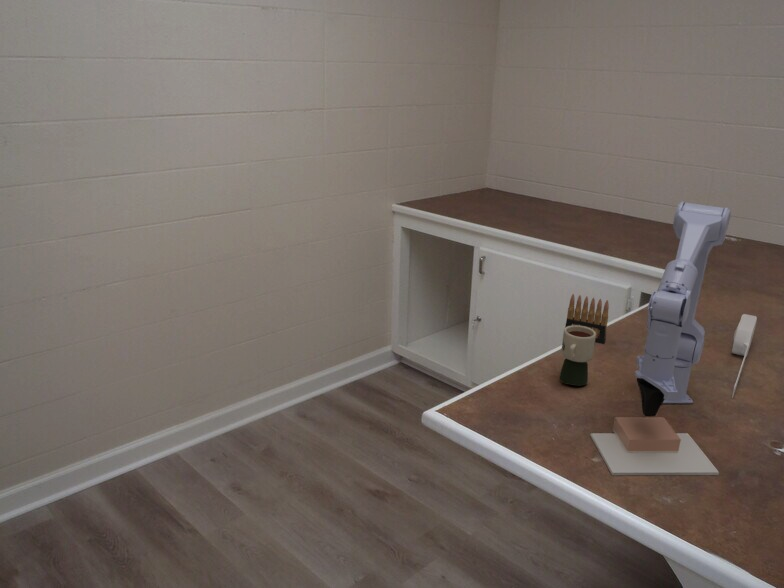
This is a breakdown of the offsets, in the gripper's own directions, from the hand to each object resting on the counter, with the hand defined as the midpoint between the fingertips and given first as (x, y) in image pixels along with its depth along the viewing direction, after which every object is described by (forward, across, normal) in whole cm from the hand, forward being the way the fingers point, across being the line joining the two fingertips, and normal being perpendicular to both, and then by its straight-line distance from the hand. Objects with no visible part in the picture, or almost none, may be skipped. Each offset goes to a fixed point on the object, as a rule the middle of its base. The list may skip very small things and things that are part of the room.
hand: (648, 414), depth 131 cm
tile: (+4, -4, 0) cm, 6 cm away
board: (+6, +4, 0) cm, 8 cm away
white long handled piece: (+7, -34, +36) cm, 50 cm away
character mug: (+7, -25, -7) cm, 27 cm away
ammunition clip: (+7, -49, +3) cm, 50 cm away
